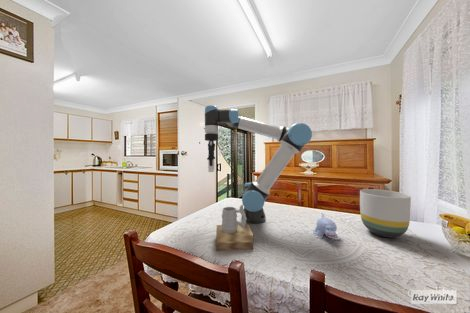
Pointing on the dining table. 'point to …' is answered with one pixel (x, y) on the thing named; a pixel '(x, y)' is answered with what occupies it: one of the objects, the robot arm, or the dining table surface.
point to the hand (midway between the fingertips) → (211, 170)
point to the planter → (385, 212)
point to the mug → (232, 219)
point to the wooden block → (234, 239)
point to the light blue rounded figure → (325, 228)
